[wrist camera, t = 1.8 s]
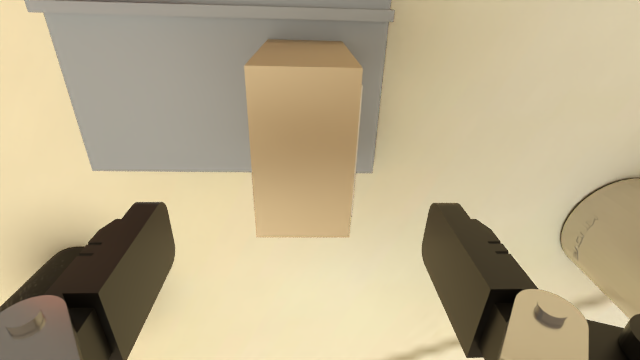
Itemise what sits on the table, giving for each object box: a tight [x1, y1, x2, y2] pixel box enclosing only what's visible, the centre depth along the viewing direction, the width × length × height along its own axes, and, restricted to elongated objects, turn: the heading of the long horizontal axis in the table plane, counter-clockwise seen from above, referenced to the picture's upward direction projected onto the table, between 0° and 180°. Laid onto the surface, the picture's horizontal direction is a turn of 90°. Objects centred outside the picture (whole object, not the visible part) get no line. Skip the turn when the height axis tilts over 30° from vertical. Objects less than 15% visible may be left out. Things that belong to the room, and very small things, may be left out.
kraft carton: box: [244, 39, 363, 237], centre depth 19 cm, size 5×8×9 cm, turn 178°
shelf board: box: [24, 0, 395, 173], centre depth 21 cm, size 20×18×4 cm
